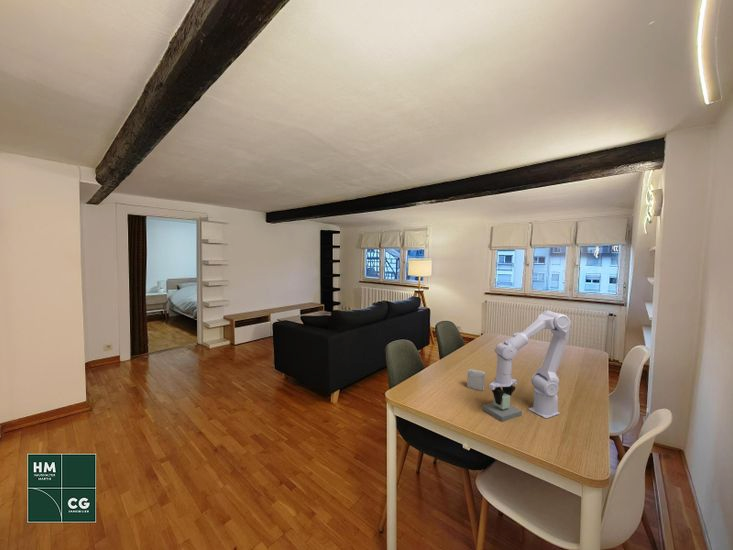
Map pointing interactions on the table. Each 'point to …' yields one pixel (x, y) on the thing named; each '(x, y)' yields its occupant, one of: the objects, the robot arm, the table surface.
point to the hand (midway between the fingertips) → (502, 402)
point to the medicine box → (476, 379)
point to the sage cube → (504, 401)
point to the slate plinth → (501, 412)
